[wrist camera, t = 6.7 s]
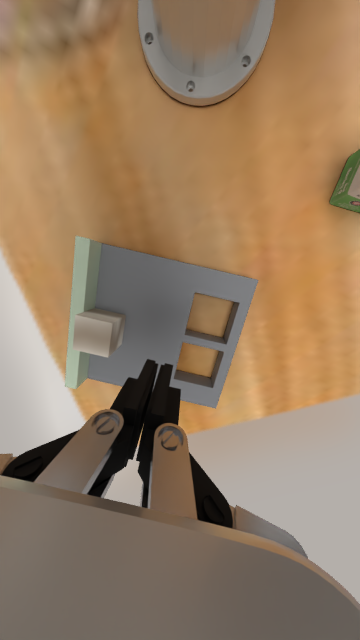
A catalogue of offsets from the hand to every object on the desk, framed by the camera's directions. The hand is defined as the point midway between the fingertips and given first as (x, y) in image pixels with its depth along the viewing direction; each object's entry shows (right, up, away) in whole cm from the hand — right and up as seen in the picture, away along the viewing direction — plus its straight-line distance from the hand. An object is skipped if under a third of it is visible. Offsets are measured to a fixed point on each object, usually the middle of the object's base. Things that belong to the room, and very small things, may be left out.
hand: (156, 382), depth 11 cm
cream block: (-8, +3, +12) cm, 15 cm away
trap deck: (-1, +3, +14) cm, 15 cm away
